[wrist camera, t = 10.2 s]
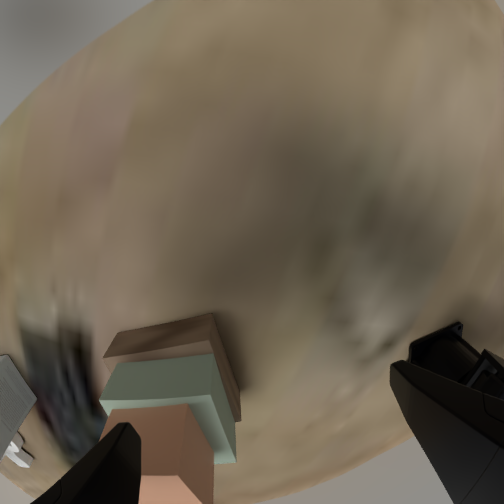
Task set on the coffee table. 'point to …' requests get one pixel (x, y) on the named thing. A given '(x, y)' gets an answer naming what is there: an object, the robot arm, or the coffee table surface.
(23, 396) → the small box
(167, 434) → the terracotta cube
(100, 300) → the coffee table surface
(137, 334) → the walnut base block
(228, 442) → the sage top block
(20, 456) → the joystick
